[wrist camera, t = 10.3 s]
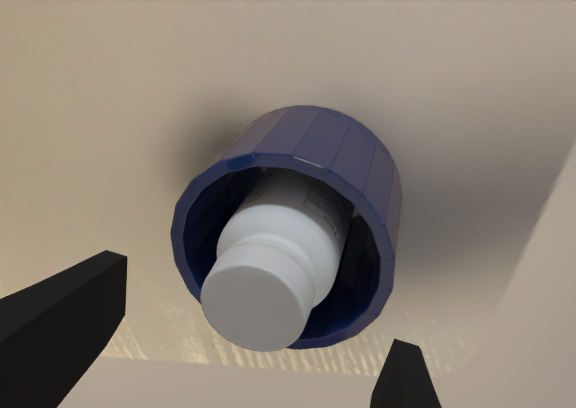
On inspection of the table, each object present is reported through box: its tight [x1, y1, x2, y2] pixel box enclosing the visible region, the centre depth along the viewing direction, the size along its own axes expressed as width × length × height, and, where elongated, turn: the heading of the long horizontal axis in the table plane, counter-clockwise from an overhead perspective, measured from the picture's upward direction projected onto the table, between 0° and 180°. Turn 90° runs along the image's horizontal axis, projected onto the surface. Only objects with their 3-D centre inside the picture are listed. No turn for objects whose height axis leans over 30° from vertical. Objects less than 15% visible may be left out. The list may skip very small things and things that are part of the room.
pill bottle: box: [200, 167, 353, 352], centre depth 19 cm, size 4×4×8 cm
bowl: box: [170, 106, 402, 350], centre depth 20 cm, size 8×8×6 cm
